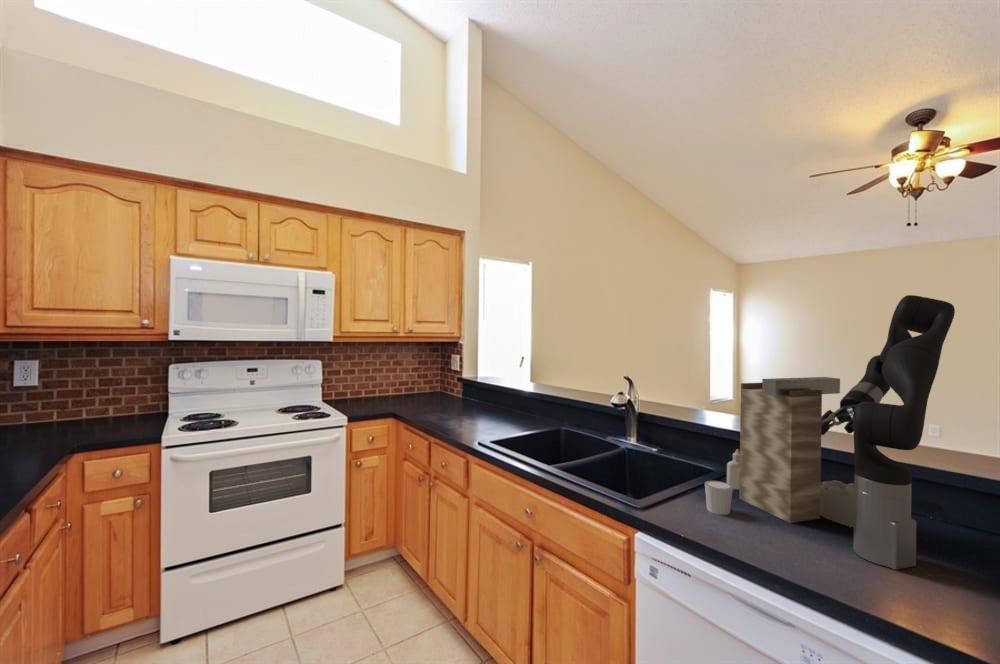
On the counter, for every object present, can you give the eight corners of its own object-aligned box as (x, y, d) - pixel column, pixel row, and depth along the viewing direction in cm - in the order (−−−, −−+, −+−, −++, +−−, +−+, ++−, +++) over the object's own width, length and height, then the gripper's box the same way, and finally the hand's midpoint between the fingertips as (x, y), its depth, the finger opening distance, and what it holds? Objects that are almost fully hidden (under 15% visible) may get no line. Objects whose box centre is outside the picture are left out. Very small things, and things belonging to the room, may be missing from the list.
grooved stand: (820, 518, 112) (821, 390, 112) (790, 522, 109) (791, 391, 109) (766, 495, 128) (768, 382, 127) (739, 498, 125) (740, 383, 125)
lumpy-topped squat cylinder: (858, 531, 105) (859, 496, 105) (805, 510, 118) (805, 478, 117) (886, 525, 109) (886, 491, 109) (831, 505, 121) (831, 474, 121)
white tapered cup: (730, 518, 112) (730, 491, 112) (701, 511, 116) (701, 485, 116) (734, 509, 117) (735, 483, 117) (707, 503, 122) (707, 478, 122)
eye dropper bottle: (747, 492, 130) (748, 452, 130) (726, 488, 133) (727, 450, 132) (746, 487, 134) (747, 448, 134) (726, 484, 136) (726, 446, 136)
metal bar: (839, 393, 116) (840, 378, 116) (775, 396, 110) (775, 380, 110) (825, 391, 120) (825, 376, 120) (762, 393, 114) (762, 378, 114)
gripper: (894, 407, 124) (866, 441, 119) (847, 412, 137) (819, 443, 132) (877, 386, 125) (847, 419, 120) (831, 393, 138) (803, 423, 133)
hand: (833, 431), depth 126 cm, fingers open, 8 cm apart
